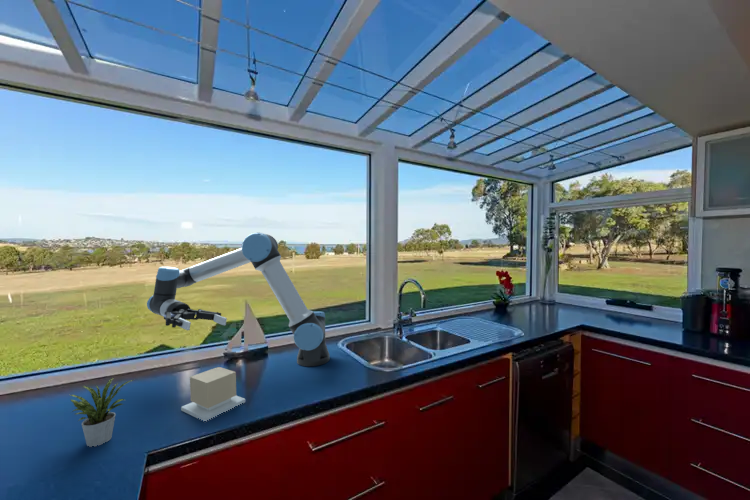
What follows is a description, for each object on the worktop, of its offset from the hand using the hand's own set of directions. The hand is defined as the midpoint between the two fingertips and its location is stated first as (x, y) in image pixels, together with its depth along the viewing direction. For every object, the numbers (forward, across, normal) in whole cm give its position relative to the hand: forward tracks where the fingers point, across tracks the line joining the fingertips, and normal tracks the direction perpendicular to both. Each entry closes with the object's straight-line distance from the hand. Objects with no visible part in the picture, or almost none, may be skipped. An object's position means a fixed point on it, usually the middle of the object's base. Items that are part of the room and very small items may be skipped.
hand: (208, 323), depth 110 cm
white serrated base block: (+11, +1, -25) cm, 28 cm away
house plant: (0, +26, -30) cm, 39 cm away
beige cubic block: (+11, +1, -22) cm, 25 cm away
